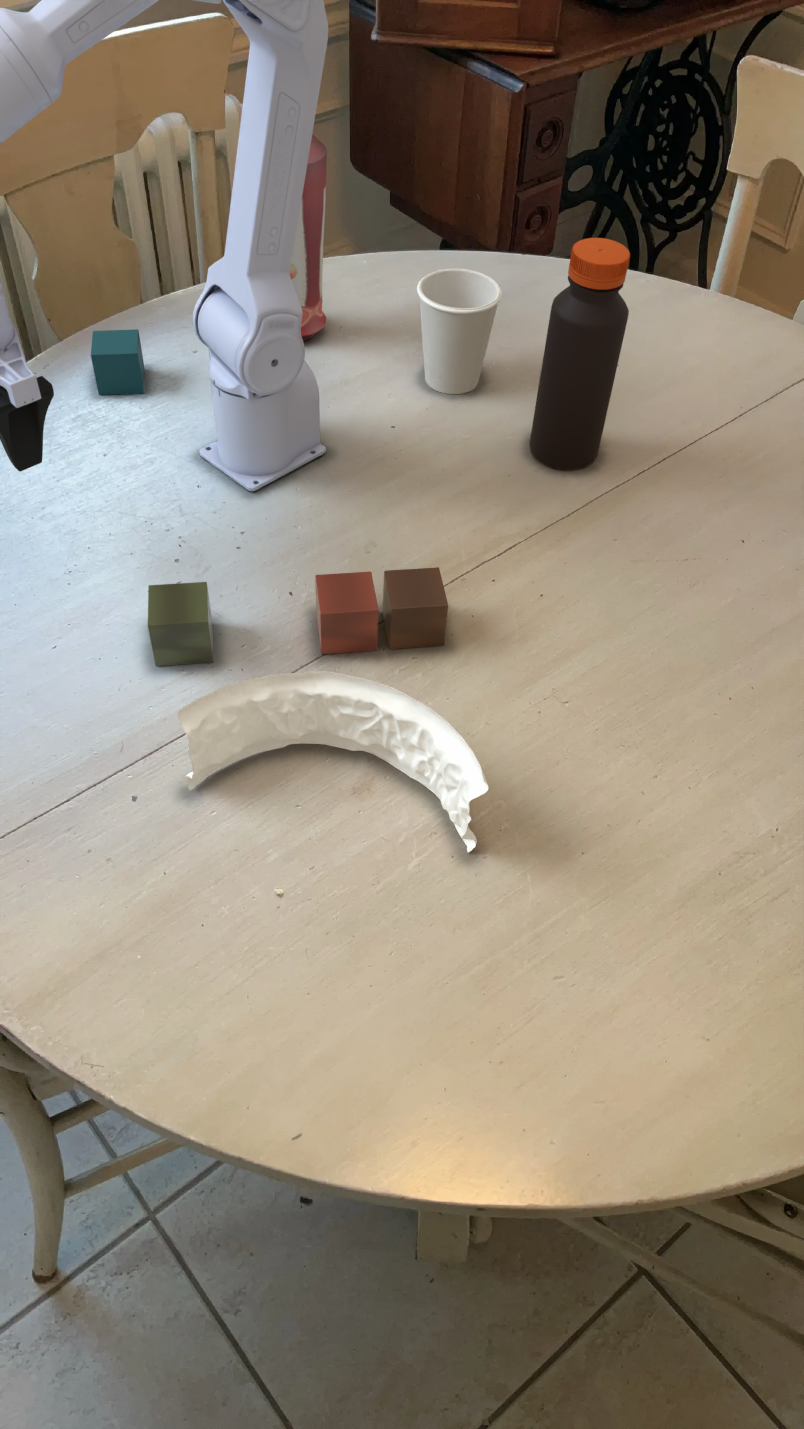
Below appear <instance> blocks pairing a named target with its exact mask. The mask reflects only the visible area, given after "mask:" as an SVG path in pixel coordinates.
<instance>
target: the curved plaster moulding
mask: <svg viewBox="0 0 804 1429" xmlns="http://www.w3.org/2000/svg"><path fill="white" fill-rule="evenodd" d="M176 715H177V717H178V721H179V723H180V725H181V727H182V729H183V731H184V733H185V734H186V737H187V740H188V751H187V752H188V758H189V759H190V762H191V770H192V771H190V772H188V773H187V774H186V775H185V776H184V779H185V783H186V786H187V789H188V790H189V791H192V790H193V789H195V788H196V786H198V784H200V783H201V782H203V781H204V780H206V779H207V777H209V776H211V775H212V774H213V773H215V772H218V771H219V770H221V769H224V768H226V767H228V766H229V765H232V764H234V763H236V762H238V761H241V760H243V759H246V758H248V757H250V756H253V755H256V754H259V753H262V752H263V753H264V752H268V751H272V750H276V749H282V748H285V747H286V746H289V745H293V744H294V745H297V744H298V745H299V744H310V745H311V744H315V745H318V744H319V745H326V746H329V747H334V748H335V747H336V748H340V749H344V750H348V751H351V752H357V751H360V752H361V751H362V752H366V753H368V754H372V755H373V756H375V757H377V758H379V759H381V760H383V761H385V763H386V762H387V763H388V764H389V765H391V766H392V767H393V768H395V769H397V770H398V771H401V773H404V775H407V776H408V777H409V778H410V779H412V780H415V781H417V782H418V783H420V784H421V785H422V786H424V787H426V789H428V790H429V791H431V792H432V793H433V794H434V795H435V796H436V798H438V799H439V801H440V804H441V807H442V809H443V810H445V811H446V812H447V813H448V816H449V820H450V822H452V824H454V827H455V829H456V831H457V833H458V835H459V836H460V838H461V840H462V841H463V842H464V844H465V846H466V851H467V854H469V853H470V852H471V851H472V850H474V848H476V846H477V842H478V840H477V837H476V834H475V833H474V832H473V831H472V830H471V828H470V826H469V823H470V822H471V821H472V817H471V814H470V803H471V801H472V800H474V799H476V798H479V797H481V796H483V795H485V794H486V793H487V792H488V791H489V784H488V782H487V779H486V775H485V773H484V770H483V768H482V766H481V764H480V762H479V760H478V758H477V756H476V755H475V753H474V752H473V749H472V748H471V747H470V745H469V744H468V743H467V742H466V740H465V739H464V737H463V736H462V734H460V733H459V732H458V731H457V730H456V728H455V727H453V725H451V724H450V723H449V722H448V721H447V720H446V719H445V718H444V717H442V716H441V715H440V714H438V713H437V712H436V711H435V710H433V709H432V708H431V707H430V706H428V705H427V704H425V703H423V702H421V701H419V700H418V699H415V698H414V697H411V696H410V695H408V694H406V693H405V692H403V691H401V690H399V689H396V688H395V687H392V686H391V685H389V684H386V683H382V682H378V681H375V680H371V679H369V678H363V677H359V676H355V675H351V674H350V675H349V674H347V673H346V674H345V673H341V672H334V671H330V670H318V671H317V670H316V671H302V672H286V673H277V674H271V675H264V676H257V677H252V678H249V679H246V680H243V681H239V682H236V683H233V684H230V685H225V686H222V687H219V688H217V689H215V690H214V691H212V692H209V693H207V694H205V695H203V696H201V697H199V698H197V699H196V700H193V701H192V702H191V703H189V704H187V705H186V706H184V707H182V708H181V709H179V710H178V711H177V714H176Z"/></svg>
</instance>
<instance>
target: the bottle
mask: <svg viewBox="0 0 804 1429" xmlns="http://www.w3.org/2000/svg"><path fill="white" fill-rule="evenodd" d="M630 259H631V252H630V250H629V249H628V247H627V246H625V245H623V244H622V243H620V242H619V241H616V240H613V239H609V238H604V237H589V238H583V239H580V240H578V241H577V242H575V243H574V244H572V247H571V252H570V258H569V263H568V269H567V270H568V271H567V274H568V275H567V281H568V283H569V285H568V286H567V287H565V288H564V289H562V290H561V291H560V292H559V293H557V295H556V296H555V297H554V298H553V300H552V304H551V307H550V313H549V320H548V326H547V331H546V338H545V344H544V351H543V355H542V356H543V357H542V363H541V370H540V376H539V381H538V388H537V394H536V400H535V406H534V407H535V408H534V414H533V420H532V426H531V432H530V438H529V444H528V445H529V449H530V451H531V454H532V456H533V457H534V458H535V459H536V460H537V461H539V462H540V463H542V464H543V465H545V466H547V467H550V468H553V469H557V470H562V471H575V470H580V469H583V468H586V467H588V466H590V465H591V464H593V462H595V460H596V459H597V457H598V456H599V450H600V447H601V441H602V437H603V432H604V428H605V424H606V418H607V414H608V410H609V405H610V401H611V396H612V392H613V387H614V382H615V379H616V374H617V369H618V364H619V360H620V355H621V351H622V346H623V342H624V338H625V334H626V329H627V324H628V320H629V314H630V311H629V307H628V305H627V303H626V301H625V299H624V298H623V297H622V296H621V294H620V293H619V292H620V291H621V290H622V289H623V288H624V284H625V282H626V277H627V272H628V268H629V264H630Z"/></svg>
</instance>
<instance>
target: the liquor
mask: <svg viewBox="0 0 804 1429" xmlns="http://www.w3.org/2000/svg"><path fill="white" fill-rule="evenodd" d="M327 156H328V149H327V146H326V145H325V144H324V143H323V142H322V141H321V140H320V139H319V138H317V137H316V136H315V135H314V134H312V139H311V145H310V151H309V157H308V163H307V170H306V176H305V182H304V188H303V194H302V200H301V206H300V212H299V218H298V224H297V230H296V237H295V243H294V249H293V255H292V261H291V267H290V277H291V280H292V283H293V286H294V289H295V291H296V294H297V297H298V300H299V302H300V305H301V308H302V312H303V315H302V321H301V336H302V340H303V341H305V340H308V339H310V338H311V337H313V336H315V335H316V334H317V333H318V332H320V331H321V330H323V329H324V327H325V325H326V323H327V316H326V315H325V312H324V310H323V270H324V268H323V267H324V266H323V265H324V239H325V218H326V197H327V196H326V195H327V193H326V192H327V158H328V157H327Z"/></svg>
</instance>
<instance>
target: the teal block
mask: <svg viewBox="0 0 804 1429" xmlns="http://www.w3.org/2000/svg"><path fill="white" fill-rule="evenodd" d="M141 343H142V342H141V338H140V331H139V329H111V330H110V329H109V330H108V329H106V330H93V331H92V336H91V346H90V359H91V363H92V369H93V375H94V379H95V383H96V388H97V389H96V390H97V394H98V395H99V396H105V395H110V396H111V395H132V394H135V395H136V394H144V393H145V371H146V370H145V363H144V362H145V361H144V356H143V355H144V354H143V350H142V344H141Z"/></svg>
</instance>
